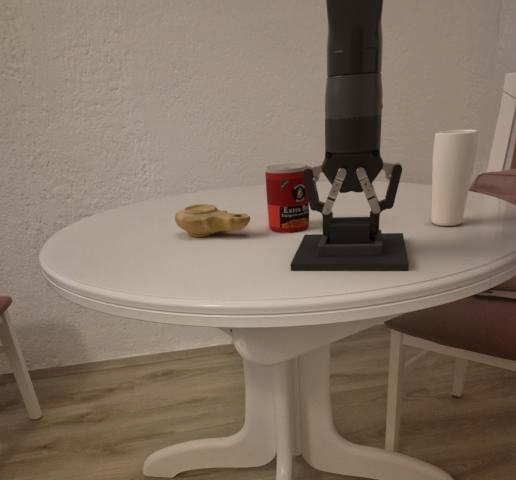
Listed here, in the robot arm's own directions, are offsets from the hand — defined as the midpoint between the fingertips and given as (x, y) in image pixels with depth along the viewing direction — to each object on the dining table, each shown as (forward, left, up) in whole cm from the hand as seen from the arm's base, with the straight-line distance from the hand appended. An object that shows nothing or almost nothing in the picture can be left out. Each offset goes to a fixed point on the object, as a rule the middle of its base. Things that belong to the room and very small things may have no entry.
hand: (350, 237), depth 72 cm
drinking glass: (-16, -18, -3) cm, 24 cm away
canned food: (+12, -17, -3) cm, 21 cm away
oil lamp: (+26, -13, -3) cm, 29 cm away
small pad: (0, 0, -1) cm, 1 cm away
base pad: (0, 0, -2) cm, 2 cm away
